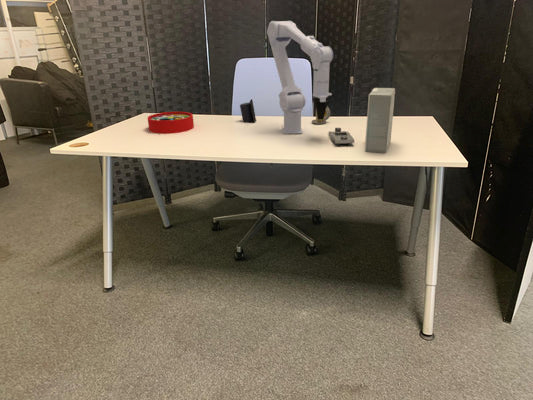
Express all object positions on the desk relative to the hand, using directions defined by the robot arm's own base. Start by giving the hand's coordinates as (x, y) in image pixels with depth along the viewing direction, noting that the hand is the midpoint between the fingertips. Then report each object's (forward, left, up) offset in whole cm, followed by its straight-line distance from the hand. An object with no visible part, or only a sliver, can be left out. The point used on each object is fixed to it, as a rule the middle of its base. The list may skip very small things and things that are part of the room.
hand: (320, 118), depth 152 cm
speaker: (-35, -30, -9) cm, 47 cm away
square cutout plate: (+2, +8, -9) cm, 12 cm away
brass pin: (0, 0, -1) cm, 1 cm away
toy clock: (-25, -64, -9) cm, 70 cm away
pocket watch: (-29, +4, -9) cm, 31 cm away
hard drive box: (+12, +20, -9) cm, 25 cm away
